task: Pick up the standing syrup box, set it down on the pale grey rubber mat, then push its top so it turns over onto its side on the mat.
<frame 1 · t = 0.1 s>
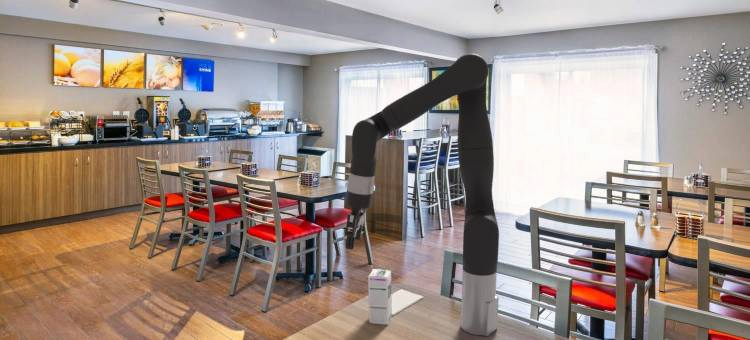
hand: (353, 243, 136), 22 cm above the table, tool pointing down, fingers open, 8 cm apart
syrup box: (380, 320, 137), on the table
mat: (397, 302, 148), on the table
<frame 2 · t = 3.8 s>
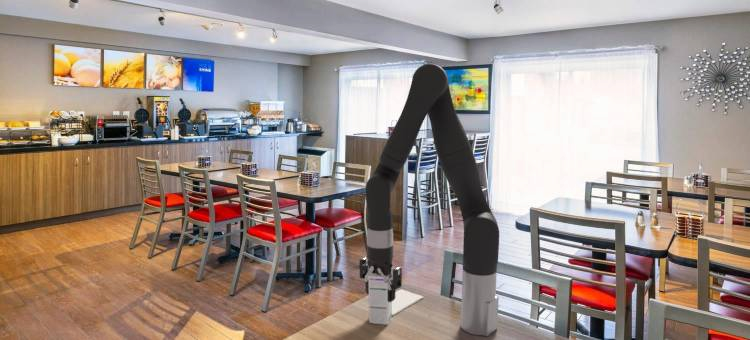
hand: (380, 297, 136), 7 cm above the table, tool pointing down, fingers closed on syrup box, 7 cm apart
syrup box: (380, 320, 137), on the table, touching gripper
when the fingers open (8 cm above the table, at t = 9.5 s): syrup box stays where it is, resting on mat.
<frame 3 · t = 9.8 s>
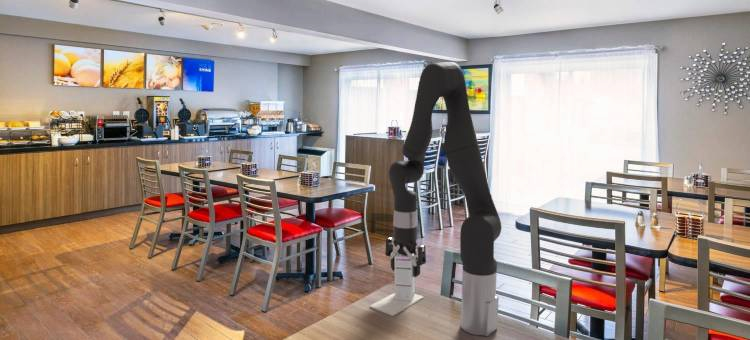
hand: (405, 272, 150), 9 cm above the table, tool pointing down, fingers open, 8 cm apart
syrup box: (404, 297, 151), resting on mat
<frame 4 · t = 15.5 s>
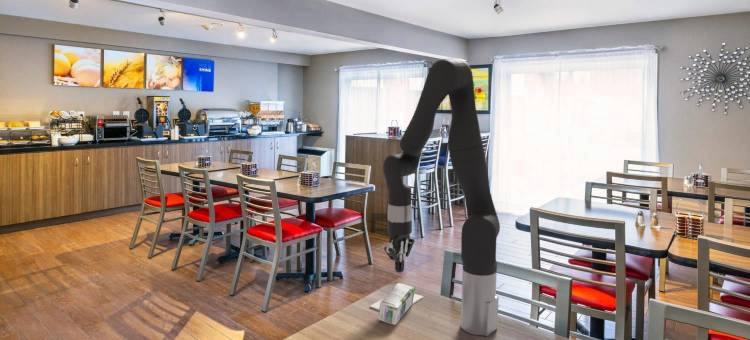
hand: (399, 271, 147), 10 cm above the table, tool pointing down, fingers closed
syrup box: (405, 292, 147), point 4 cm above the table, touching mat
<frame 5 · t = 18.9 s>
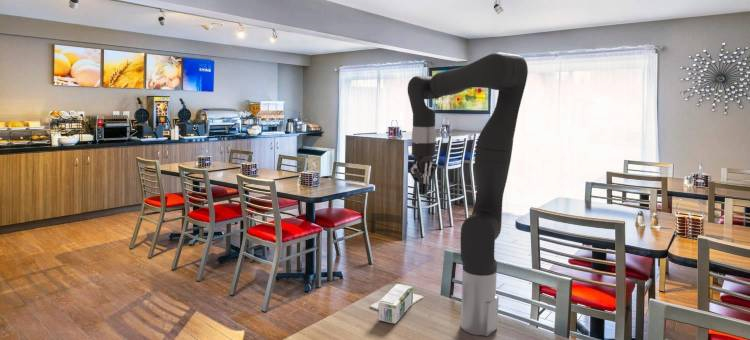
hand: (423, 194, 151), 33 cm above the table, tool pointing down, fingers closed
nothing on the table moved.
at the end: syrup box tilted 90°; syrup box inside the target area on the mat (3.0 cm from its centre), point 3.3 cm above the mat's base; the gripper is holding nothing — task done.
